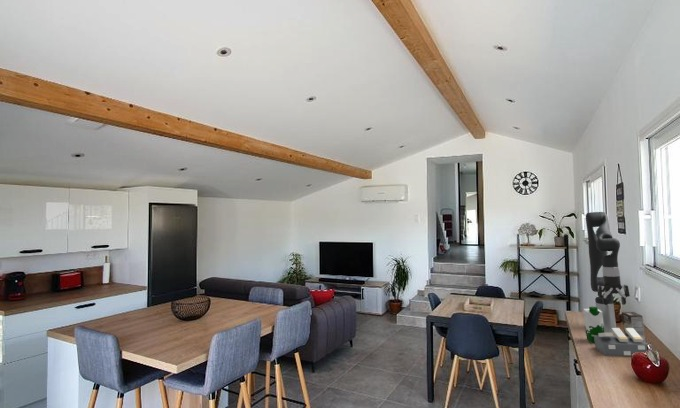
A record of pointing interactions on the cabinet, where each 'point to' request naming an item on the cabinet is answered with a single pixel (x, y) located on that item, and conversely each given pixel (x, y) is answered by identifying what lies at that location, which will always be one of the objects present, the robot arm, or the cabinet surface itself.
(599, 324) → the milk carton
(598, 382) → the cabinet surface
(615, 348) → the switch unit
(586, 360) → the cabinet surface
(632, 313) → the coffee box
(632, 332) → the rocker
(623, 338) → the block
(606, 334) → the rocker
